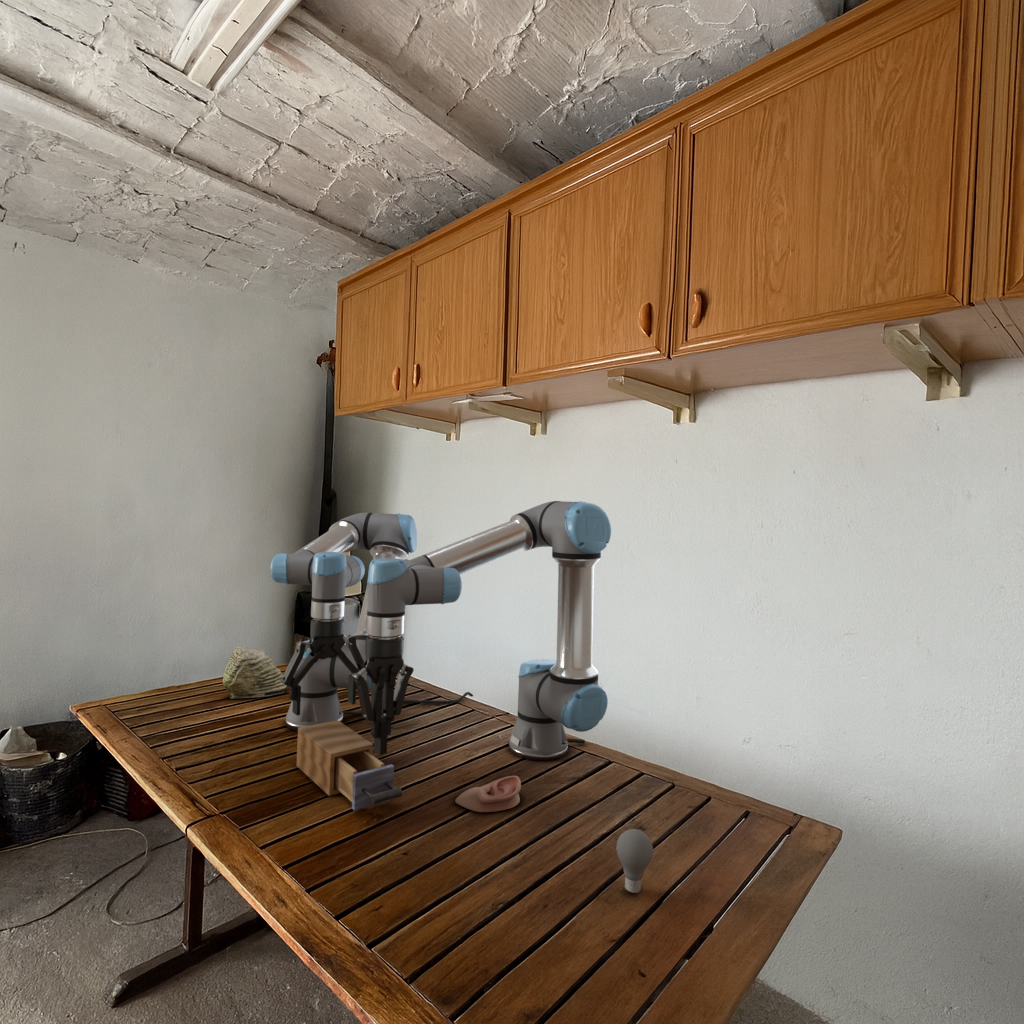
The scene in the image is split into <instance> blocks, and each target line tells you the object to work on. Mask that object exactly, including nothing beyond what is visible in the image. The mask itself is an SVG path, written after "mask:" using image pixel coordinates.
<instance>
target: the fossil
mask: <svg viewBox="0 0 1024 1024" xmlns="http://www.w3.org/2000/svg"><path fill="white" fill-rule="evenodd" d="M283 675H284V674H283V673H282V672H281V669H279V668H278V667H277V665H276V663H275V662H274V660H273V659H272V658H271V657H270V656H269V655H268V654H267V653H266V652H265V650H264V649H263V648H260V647H258V648H251V647H247V646H246V647H245V646H238V647H237V648H236V649H235V650H233V651H232V653H231V656H230V657H229V659H228V660H227V663H226V666H225V668H224V671H223V675H222V676H223V677H222V685H223V687H224V688H225V690H226V691H228V693H229V698H230V699H250V698H264V697H271V696H275V695H281V694H284V693H285V691H286V689H287V687H288V685H285V684H283V683H282V682H281V679H282V677H283Z"/></svg>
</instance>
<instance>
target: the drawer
mask: <svg viewBox="0 0 1024 1024" xmlns="http://www.w3.org/2000/svg"><path fill="white" fill-rule="evenodd" d="M394 775H395V766H394V765H393V764H392V763H390V764H387V765H385V763H384V762H382V761H381V760H380V759H379V758H377V757H375V756H374V755H371V754H370V753H368V752H367V751H366V750H364V751H360V752H355V753H351V754H347V755H343V756H339V757H335V763H334V787H335V788H336V789H338V790H339V791H340V792H341V793H340V794H341V795H343V796H344V797H345V798H347V799H348V800H349V802H351V809H352V810H353V811H354V812H356V811H358V810H363V809H365V808H368V807H373V806H375V805H378V804H382V803H385V802H389V801H391V800H393V799H396V798H399V797H402V796H403V790H402V787H400V786H398V787H395V786H394V779H395V778H394V777H395V776H394Z"/></svg>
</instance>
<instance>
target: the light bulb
mask: <svg viewBox="0 0 1024 1024" xmlns="http://www.w3.org/2000/svg"><path fill="white" fill-rule="evenodd" d="M615 849H616V854H617V857H618V859H619V861H620V863H621V865H622V867H623V873H624V874H623V875H624V876H625V878H624V888H625V890H627V891H628V892H630V893H634V894H635V893H639V892H640V891H641V889H642V887H641V886H642V879H643V877H644V875H645V871H646V868H647V867H648V866H649V864H650V863H651V861H652V859H653V855H654V847H653V843H652V841H651V838H649V836H648V835H647V834H646V833H645V832H643V831H642V830H641V829H636V828H629V829H627V830H625V831H623V832H622V833H621V834H620V835H619V837H618V839H617V841H616V847H615Z"/></svg>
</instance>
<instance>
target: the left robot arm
mask: <svg viewBox="0 0 1024 1024" xmlns="http://www.w3.org/2000/svg"><path fill="white" fill-rule="evenodd" d="M417 531H418V530H417V525H416V521H415V519H414V517H413V516H412V515H410V514H404V513H403V514H402V513H383V512H382V513H381V512H367V511H366V512H360V513H355V514H351V515H349V516H347V517H343V518H341V519H339V520H338V521H336V522H334V523H333V524H331V526H330V527H329V528H328V530H327V531H326V532H325V533H323V534H322V535H320V536H318V537H317V538H315V539H314V540H312V541H311V542H309V543H307V544H306V545H305V546H303V547H301V548H299V549H298V550H296V551H295V552H293V553H288V552H284V553H276V554H275V555H274V556H273V558H272V560H271V563H270V568H269V569H270V570H269V571H270V577H271V579H272V580H273V582H275V583H278V584H286V585H299V586H300V585H301V586H311V606H310V617H311V618H312V619H311V620H310V633H309V634H310V638H309V639H307V640H304V641H301V640H297V641H296V643H295V650H294V653H293V655H292V656H291V659H290V661H289V662H288V664H287V667H286V669H285V671H284V672H283V674H282V675H283V677H282V679H281V682H282V683H283V684H285V685H287V687H288V699H289V700H290V701H291V702H290V704H289V708H288V711H287V713H286V715H285V726H286V728H287V729H289V730H291V731H294V732H295V731H296V732H298V728H300V727H305V726H310V725H315V724H320V723H325V722H330V721H335V720H338V721H340V722H341V723H343V722H344V715H354V716H358V715H359V716H360V715H362V712H361V710H360V711H354V710H343V709H342V706H341V702H340V699H339V695H338V689H347V702H348V703H349V704H351V705H356V704H357V703H356V701H357V686H356V683H355V681H354V680H353V678H352V674H353V673H358V672H359V671H360V670H361V669H363V664H364V662H365V659H366V656H365V644H366V638H367V636H369V635H367V634H366V620H367V596H368V583H367V582H366V583H367V584H366V589H365V593H364V598H363V601H362V605H361V611H360V615H359V620H358V624H357V629H356V632H355V633H353V634H348V635H347V636H344V634H345V620H344V617H345V607H346V606H345V605H346V602H345V601H346V588H349V587H353V586H355V585H357V584H358V583H360V582H361V581H362V580H363V578H364V575H365V571H366V568H365V565H364V562H363V561H362V560H361V559H360V558H359V557H358V556H355V555H346V554H345V553H349V552H351V551H353V550H362V551H363V550H365V551H369V554H370V556H371V557H372V560H374V559H378V558H396V559H403V560H409V559H408V558H409V553H410V554H412V553H415V552H416V550H417V547H418V533H417ZM366 677H367V681H366V683H367V686H368V691H371V689H372V686H371V679H370V678H369V676H368V675H366ZM467 696H469V697H474V694H473V693H471V691H466V692H464V693H463V695H461V696H460V697H459V698H457V699H453V700H435V699H433V700H432V699H431V700H428V699H427V700H423V699H404V702H403V704H436V705H437V704H439V705H440V704H442V705H449V704H457V703H459V702H461V701H463V700H464V699H465V697H467Z"/></svg>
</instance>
